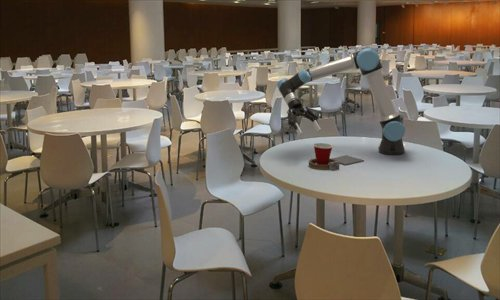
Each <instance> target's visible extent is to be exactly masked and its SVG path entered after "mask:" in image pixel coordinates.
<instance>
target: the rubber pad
mask: <svg viewBox="0 0 500 300" xmlns="http://www.w3.org/2000/svg"><path fill="white" fill-rule="evenodd" d="M330 159H334V160H337V161H338V162H339V165H343V166H350V165H354V164H359V163H363V162H365V159H362V158H358V157H354V156H351V155H347V154H345V155H341V156H336V157H331V158H330Z"/></svg>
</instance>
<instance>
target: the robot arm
mask: <svg viewBox="0 0 500 300" xmlns="http://www.w3.org/2000/svg"><path fill="white" fill-rule="evenodd" d="M383 68H384V67H383V65H382V62H381V59H380V56H379V53H378V51H377V50H376V49H375V48H373V47H364V48H362V49H360V50H357V51H356V52H352V53H351V54H350V55H348V56H344V57H343V58H339V59H336V60H332V61H329V62H326V63H323V64H320V65H316V66H313V67H309V68H307V69H305V68H303V69H301V70H300V71H298V72H297V73H296V74H294V75H292V76H291V77H290V78H289V79H288V78H285V77H284V78H281V79H279V80H278V82H277V83H276V86H277V88H278V91H279V93H280V95H281V97H282V98H283V101H284V102H285V103H286V105H287V108H288V109H287V111H286V113H287V123H288V126H290V127H293V129H294V130H295V131H296V134H297V135H298V136H301V134H302V133H303V132H302V129H301V128H300V126H299V124H298V122H296V121H297V118H298V117H304V118H306V119H308V120H309V121H311V122H312V125H313V126H314V128H315V130H316V132H317V133H319V132H321V127H320V125H319V124H320V123H319V122H318V120H319V117H318V116H317V115H316V114H315V113H314V112H313V111H312V110H311V109H309V107H308V106H306V107H303V103H302V102H301V100H300V98H299V96H298V95H297V93H296V91H297V90H298V89H300V88H301V87H303V86H304V85H306V84H307V83H310V82H314V81H316V80H320V79H323V78H326V77H329V76H333V75H336V74H339V73H343V72H346V71H350V70H353V69H355V70H360V73H361V75H362V77H365V78H366V81H367V83H368V86H369V88H370V92H371V94H372V97H373V100H374V103H375V105H376V108H377V110H378V114H379V116H380V117H379V120H378V121H379V124H380V128H381V140H380V143H379V146H378V153H380V154H382V155H386V156H387V155H388V156H390V155H391V156H397V155H403V154H405V152H406V149H405V145H404V141H403V137H404V136H405V134H406V127H405V125H404V115H403V114H401V113H400V112H397V111H396V109H395V106H394V104H393V101H392V99H391V95H390V93H389V90H388V87H387V84H386V81H385V78H384V76H383V73H382V71H383ZM292 114H293V115H292Z"/></svg>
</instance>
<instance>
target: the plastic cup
mask: <svg viewBox="0 0 500 300" xmlns="http://www.w3.org/2000/svg"><path fill="white" fill-rule="evenodd" d="M312 145H313V148H314V154H315V158H316V161H317V163H316V164H319V165H328V164H329V159H331V158H330V157H331V153H332V150H333V147H334V146H333V145H334V144H333V145H332V144H330V143H325V142H317V143H316V142H315V143H313V144H312Z"/></svg>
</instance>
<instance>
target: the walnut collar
mask: <svg viewBox="0 0 500 300" xmlns="http://www.w3.org/2000/svg"><path fill="white" fill-rule="evenodd" d="M308 168H310V169H313V170H319V171H326V170H327V171H332V172H333V171H337V170H340V164H339V162H338V161H337V160H334V159H331V158H330V159H329V163H328V165H319V164H317V161H316V157H315V158H311V159H309V160H308Z"/></svg>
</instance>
